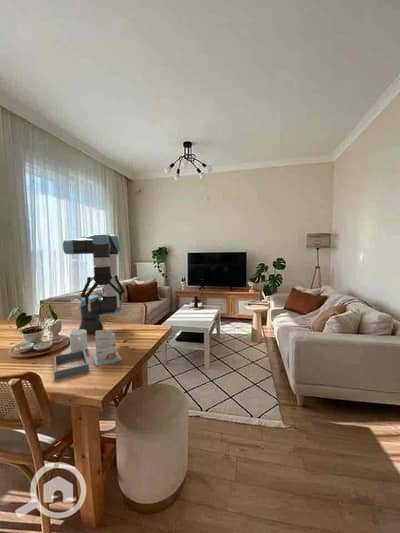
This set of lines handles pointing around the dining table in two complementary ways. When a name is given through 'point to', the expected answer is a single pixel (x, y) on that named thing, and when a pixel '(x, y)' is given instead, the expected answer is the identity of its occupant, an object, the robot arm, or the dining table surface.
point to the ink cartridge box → (105, 344)
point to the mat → (106, 360)
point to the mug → (78, 340)
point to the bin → (72, 370)
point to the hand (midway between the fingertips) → (104, 308)
